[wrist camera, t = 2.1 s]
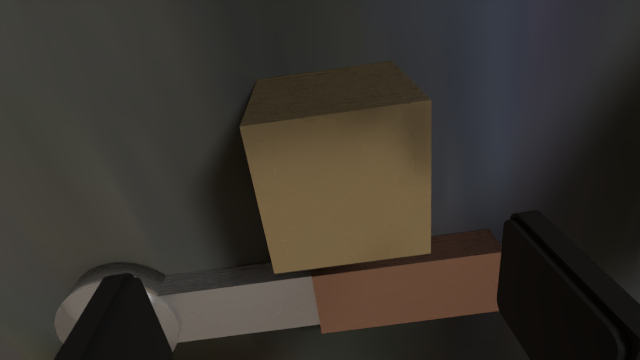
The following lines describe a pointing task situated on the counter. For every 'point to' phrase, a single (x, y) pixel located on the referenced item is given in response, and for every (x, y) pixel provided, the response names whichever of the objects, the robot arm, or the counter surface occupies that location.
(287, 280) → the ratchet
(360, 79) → the mustard yellow cube
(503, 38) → the counter surface
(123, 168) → the counter surface
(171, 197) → the counter surface
